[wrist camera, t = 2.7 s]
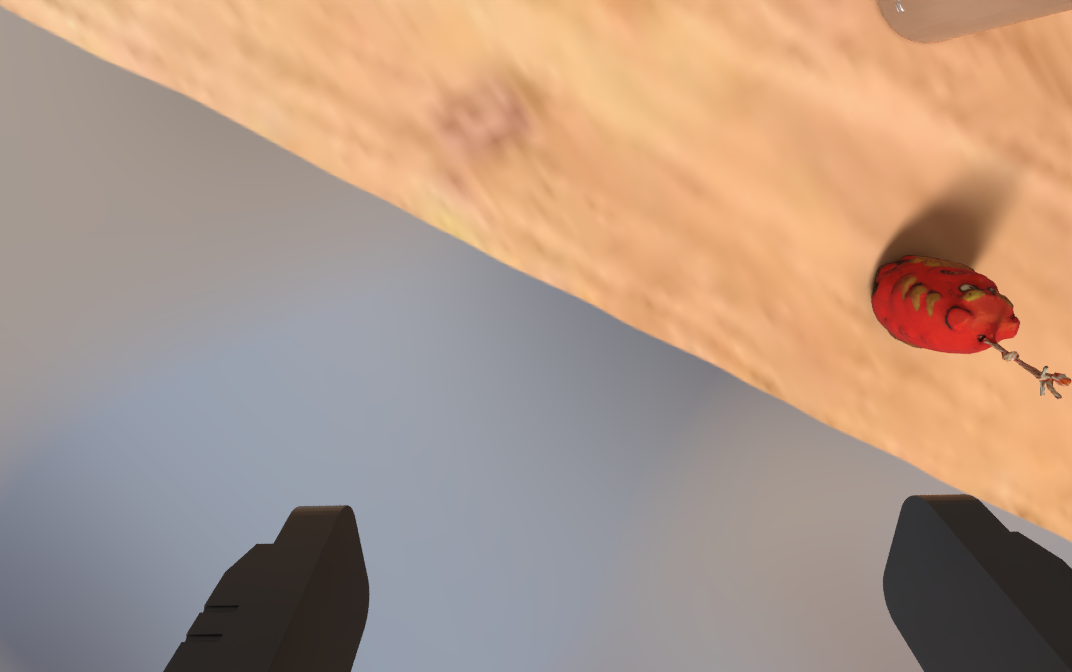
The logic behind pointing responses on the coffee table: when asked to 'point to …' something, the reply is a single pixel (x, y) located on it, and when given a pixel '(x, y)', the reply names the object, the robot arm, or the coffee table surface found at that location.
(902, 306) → the red clay folk toy
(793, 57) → the coffee table surface
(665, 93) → the coffee table surface
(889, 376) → the coffee table surface
